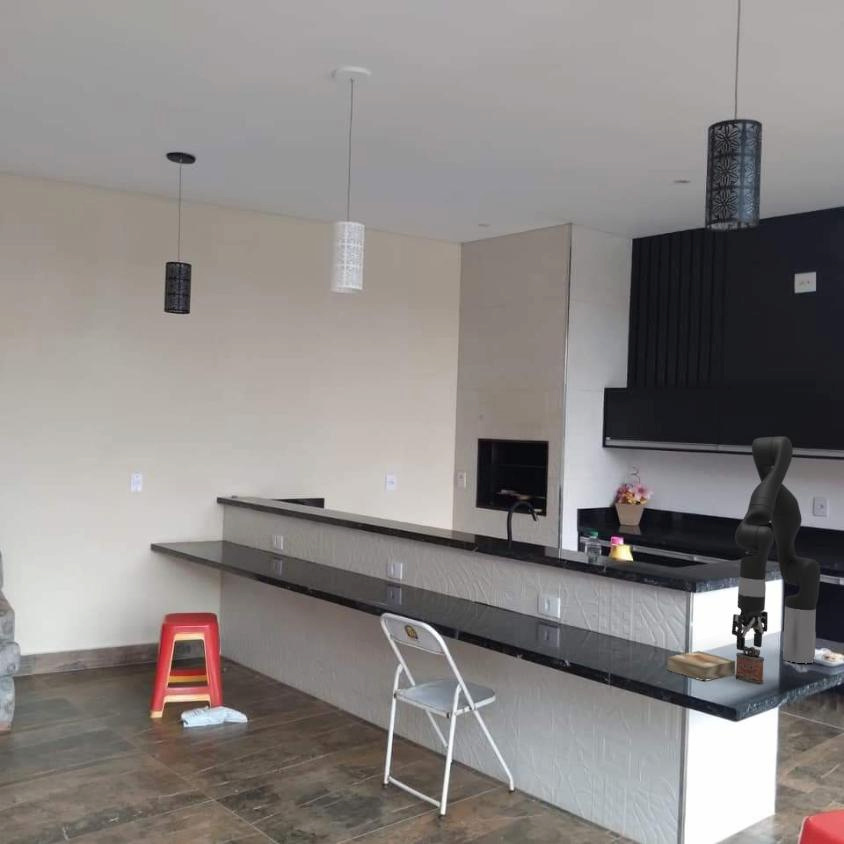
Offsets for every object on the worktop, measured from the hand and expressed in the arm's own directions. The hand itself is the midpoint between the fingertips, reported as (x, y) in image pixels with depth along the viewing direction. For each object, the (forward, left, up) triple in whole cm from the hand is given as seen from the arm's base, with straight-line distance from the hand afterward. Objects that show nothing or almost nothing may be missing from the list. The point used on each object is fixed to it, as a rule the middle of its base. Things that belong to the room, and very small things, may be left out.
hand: (748, 648), depth 262 cm
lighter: (0, 0, -10) cm, 10 cm away
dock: (+5, -13, -10) cm, 17 cm away
